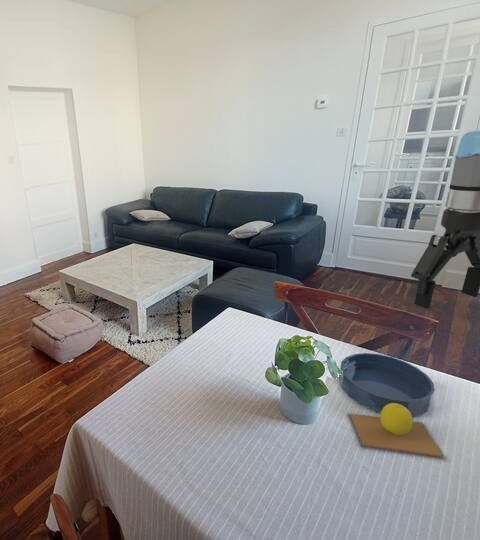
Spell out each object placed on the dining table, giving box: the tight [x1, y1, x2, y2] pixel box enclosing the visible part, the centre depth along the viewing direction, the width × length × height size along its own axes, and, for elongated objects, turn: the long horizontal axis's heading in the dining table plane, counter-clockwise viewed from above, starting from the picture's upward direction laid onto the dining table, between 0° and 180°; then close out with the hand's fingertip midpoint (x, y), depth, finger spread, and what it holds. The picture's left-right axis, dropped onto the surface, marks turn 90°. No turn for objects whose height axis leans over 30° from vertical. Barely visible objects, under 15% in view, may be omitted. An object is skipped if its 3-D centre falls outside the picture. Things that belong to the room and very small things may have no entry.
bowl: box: [338, 352, 436, 417], centre depth 88 cm, size 19×19×5 cm
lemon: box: [379, 403, 414, 435], centre depth 75 cm, size 6×6×8 cm
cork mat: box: [350, 413, 443, 458], centre depth 76 cm, size 14×9×1 cm, turn 73°
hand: (445, 300), depth 78 cm, fingers open, 13 cm apart
